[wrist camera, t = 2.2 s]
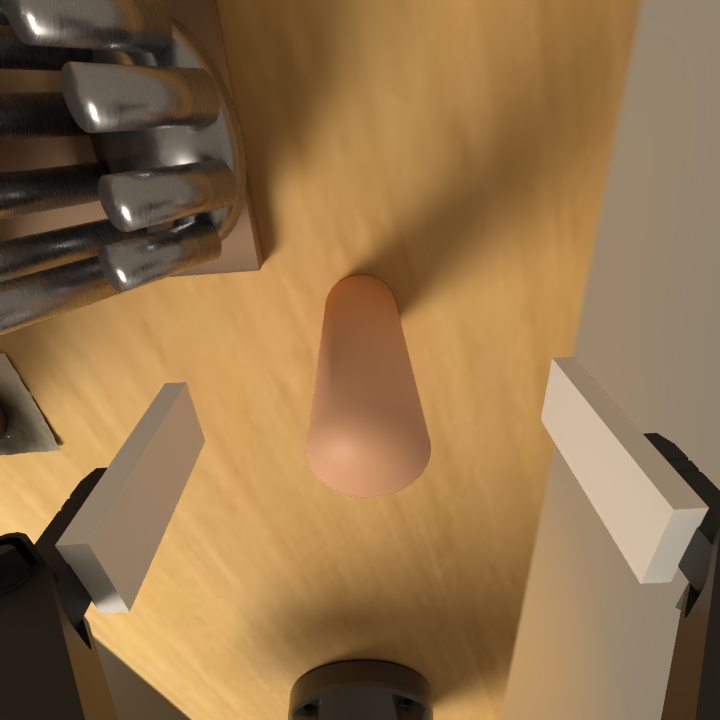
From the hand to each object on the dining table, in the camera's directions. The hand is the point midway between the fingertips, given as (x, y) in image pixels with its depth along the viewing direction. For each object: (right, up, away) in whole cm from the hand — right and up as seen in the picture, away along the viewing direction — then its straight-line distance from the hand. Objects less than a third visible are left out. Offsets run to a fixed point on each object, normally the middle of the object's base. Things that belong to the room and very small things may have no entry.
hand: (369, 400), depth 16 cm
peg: (0, +4, +8) cm, 10 cm away
